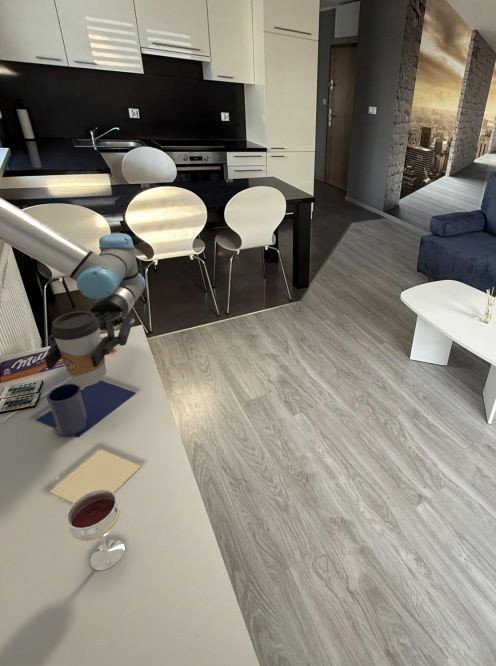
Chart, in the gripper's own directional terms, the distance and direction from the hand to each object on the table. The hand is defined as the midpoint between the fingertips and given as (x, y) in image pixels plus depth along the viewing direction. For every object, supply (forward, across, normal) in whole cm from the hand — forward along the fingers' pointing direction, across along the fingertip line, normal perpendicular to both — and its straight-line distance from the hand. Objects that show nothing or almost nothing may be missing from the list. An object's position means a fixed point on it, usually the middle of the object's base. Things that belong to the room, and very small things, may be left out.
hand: (71, 362), depth 80 cm
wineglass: (+28, -13, -20) cm, 37 cm away
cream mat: (+12, -5, -20) cm, 24 cm away
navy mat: (-9, +4, -20) cm, 22 cm away
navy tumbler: (-3, +5, -20) cm, 20 cm away
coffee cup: (-5, 0, -8) cm, 9 cm away
